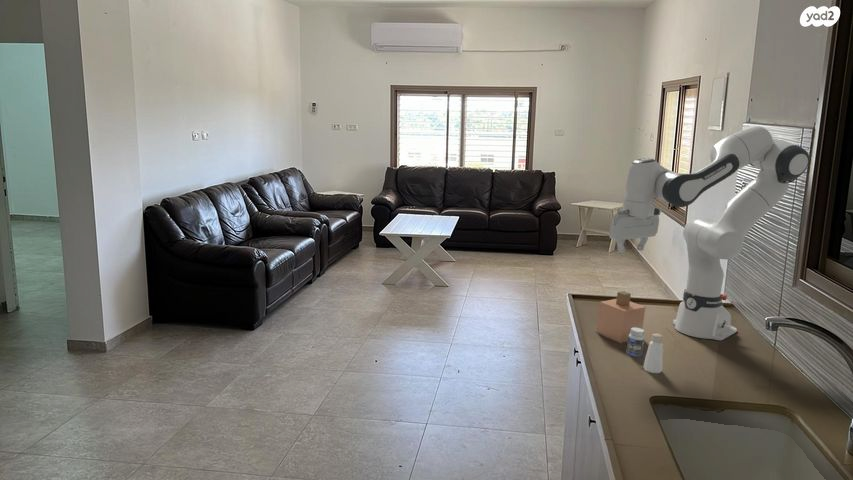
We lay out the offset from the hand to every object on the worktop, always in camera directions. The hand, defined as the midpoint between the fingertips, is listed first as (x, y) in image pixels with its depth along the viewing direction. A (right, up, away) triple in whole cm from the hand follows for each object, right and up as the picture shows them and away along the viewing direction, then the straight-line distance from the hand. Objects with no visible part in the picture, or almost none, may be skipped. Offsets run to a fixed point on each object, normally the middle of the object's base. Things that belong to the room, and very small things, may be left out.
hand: (630, 251), depth 205 cm
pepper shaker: (+1, -35, -18) cm, 39 cm away
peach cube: (-2, -28, +7) cm, 29 cm away
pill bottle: (-1, -32, -8) cm, 33 cm away
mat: (-2, -29, +7) cm, 30 cm away
